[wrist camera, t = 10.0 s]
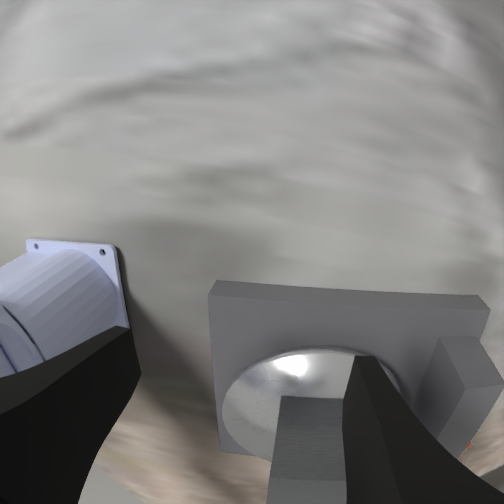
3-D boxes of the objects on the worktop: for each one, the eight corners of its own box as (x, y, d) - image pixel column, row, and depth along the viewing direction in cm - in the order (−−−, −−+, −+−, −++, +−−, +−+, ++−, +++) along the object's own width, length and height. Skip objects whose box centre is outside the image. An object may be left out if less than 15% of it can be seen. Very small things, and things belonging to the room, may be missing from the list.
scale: (225, 434, 26) (206, 496, 20) (216, 280, 20) (178, 345, 14) (414, 441, 24) (426, 500, 17) (478, 295, 18) (526, 354, 11)
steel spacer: (276, 437, 20) (265, 509, 14) (281, 395, 18) (269, 477, 12) (340, 440, 19) (342, 512, 13) (354, 398, 17) (361, 480, 12)
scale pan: (227, 451, 22) (225, 458, 22) (220, 336, 18) (217, 344, 17) (374, 459, 21) (375, 467, 20) (423, 347, 16) (427, 356, 16)
